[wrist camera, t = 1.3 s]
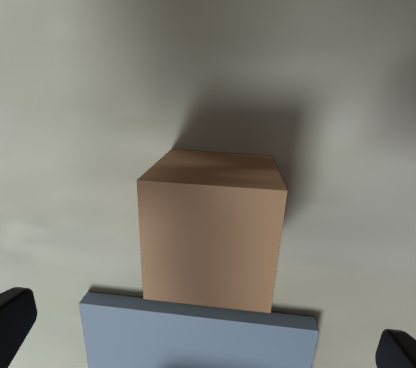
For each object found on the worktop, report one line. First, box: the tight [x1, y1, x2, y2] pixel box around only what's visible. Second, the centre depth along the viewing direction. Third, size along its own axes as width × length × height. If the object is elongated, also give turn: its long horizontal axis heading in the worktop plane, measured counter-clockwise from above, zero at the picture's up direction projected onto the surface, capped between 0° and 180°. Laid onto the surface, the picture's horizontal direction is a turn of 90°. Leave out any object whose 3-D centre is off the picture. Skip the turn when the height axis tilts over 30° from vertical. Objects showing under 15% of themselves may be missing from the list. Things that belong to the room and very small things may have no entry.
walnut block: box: [137, 149, 288, 313], centre depth 12 cm, size 5×5×5 cm
